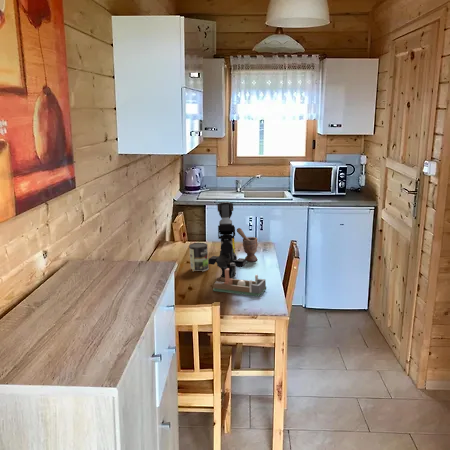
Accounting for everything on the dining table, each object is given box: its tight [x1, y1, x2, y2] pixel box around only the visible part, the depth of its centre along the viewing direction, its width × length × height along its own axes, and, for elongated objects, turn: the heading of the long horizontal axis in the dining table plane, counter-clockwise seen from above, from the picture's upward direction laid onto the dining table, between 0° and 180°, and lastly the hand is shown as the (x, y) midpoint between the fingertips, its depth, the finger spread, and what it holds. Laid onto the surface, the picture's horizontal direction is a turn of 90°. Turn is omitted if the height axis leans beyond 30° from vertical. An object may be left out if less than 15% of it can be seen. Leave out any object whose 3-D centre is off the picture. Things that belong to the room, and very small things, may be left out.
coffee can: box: [188, 242, 209, 272], centre depth 274 cm, size 10×10×14 cm
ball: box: [237, 279, 245, 286], centre depth 240 cm, size 4×4×4 cm
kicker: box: [214, 268, 234, 285], centre depth 244 cm, size 8×6×9 cm
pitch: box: [212, 274, 267, 297], centre depth 240 cm, size 24×11×7 cm, turn 66°
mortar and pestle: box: [236, 227, 258, 263], centre depth 284 cm, size 12×9×20 cm
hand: (228, 277), depth 242 cm, fingers closed on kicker, 2 cm apart
